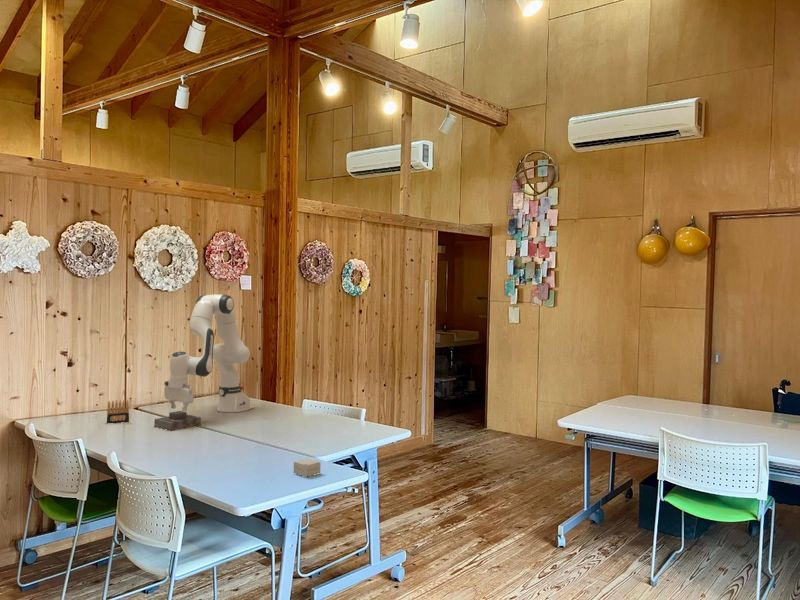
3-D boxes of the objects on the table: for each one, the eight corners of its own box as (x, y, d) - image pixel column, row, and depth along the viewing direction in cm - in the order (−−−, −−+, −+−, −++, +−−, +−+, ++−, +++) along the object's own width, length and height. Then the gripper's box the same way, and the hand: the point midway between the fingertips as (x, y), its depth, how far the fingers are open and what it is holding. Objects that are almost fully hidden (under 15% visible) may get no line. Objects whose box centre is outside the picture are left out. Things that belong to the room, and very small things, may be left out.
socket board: (184, 421, 339) (184, 412, 339) (200, 425, 331) (200, 416, 331) (154, 426, 325) (154, 417, 325) (170, 431, 317) (170, 421, 316)
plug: (179, 421, 332) (180, 410, 332) (186, 423, 329) (186, 412, 329) (169, 423, 327) (169, 412, 327) (175, 425, 324) (175, 414, 324)
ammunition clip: (128, 421, 335) (129, 399, 335) (129, 422, 334) (129, 399, 333) (106, 423, 330) (106, 400, 329) (107, 424, 328) (107, 401, 328)
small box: (308, 470, 258) (308, 457, 258) (320, 474, 253) (321, 461, 252) (292, 474, 252) (293, 461, 252) (305, 478, 247) (306, 465, 247)
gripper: (196, 384, 324) (196, 411, 325) (172, 380, 336) (172, 405, 337) (186, 386, 319) (186, 413, 320) (162, 381, 331) (162, 407, 331)
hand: (179, 409), depth 328 cm, fingers open, 8 cm apart
